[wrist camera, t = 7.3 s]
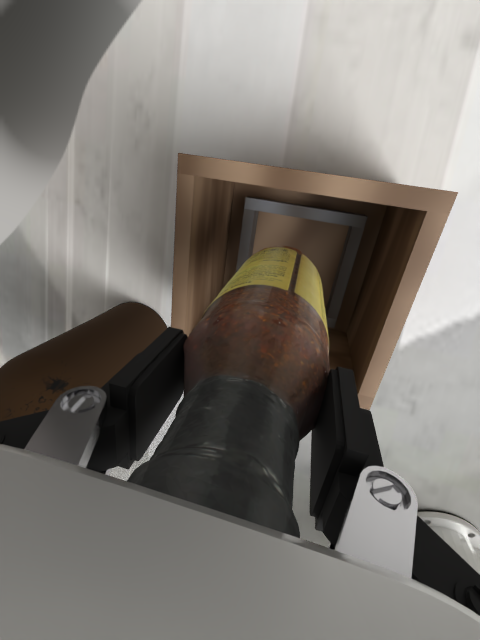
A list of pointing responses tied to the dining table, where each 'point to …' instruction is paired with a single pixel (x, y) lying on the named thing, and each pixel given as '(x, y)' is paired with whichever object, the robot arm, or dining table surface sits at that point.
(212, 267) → the walled box
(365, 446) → the robot arm
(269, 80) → the dining table surface
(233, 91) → the dining table surface
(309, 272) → the sauce bottle
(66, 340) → the olive oil
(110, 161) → the dining table surface
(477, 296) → the dining table surface
